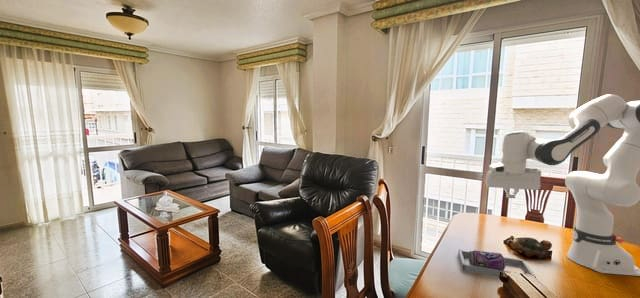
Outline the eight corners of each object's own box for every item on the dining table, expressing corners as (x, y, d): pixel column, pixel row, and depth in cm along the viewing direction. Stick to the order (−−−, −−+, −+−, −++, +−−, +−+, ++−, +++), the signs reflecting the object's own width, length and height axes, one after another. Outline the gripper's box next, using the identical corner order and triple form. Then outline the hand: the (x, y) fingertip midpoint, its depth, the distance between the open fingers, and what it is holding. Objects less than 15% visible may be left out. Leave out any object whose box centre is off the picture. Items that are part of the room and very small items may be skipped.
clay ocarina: (556, 262, 117) (557, 245, 116) (515, 259, 122) (516, 243, 120) (545, 250, 126) (546, 234, 125) (507, 248, 131) (508, 232, 129)
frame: (523, 265, 115) (523, 259, 115) (535, 283, 103) (536, 277, 103) (458, 254, 124) (458, 249, 123) (462, 270, 112) (462, 264, 111)
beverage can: (508, 266, 106) (474, 262, 109) (503, 275, 110) (470, 270, 113) (502, 250, 111) (470, 246, 114) (498, 259, 116) (467, 255, 119)
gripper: (538, 167, 118) (535, 197, 120) (485, 165, 125) (483, 193, 127) (545, 170, 112) (541, 202, 114) (488, 167, 119) (486, 198, 121)
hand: (510, 197), depth 121 cm, fingers closed
